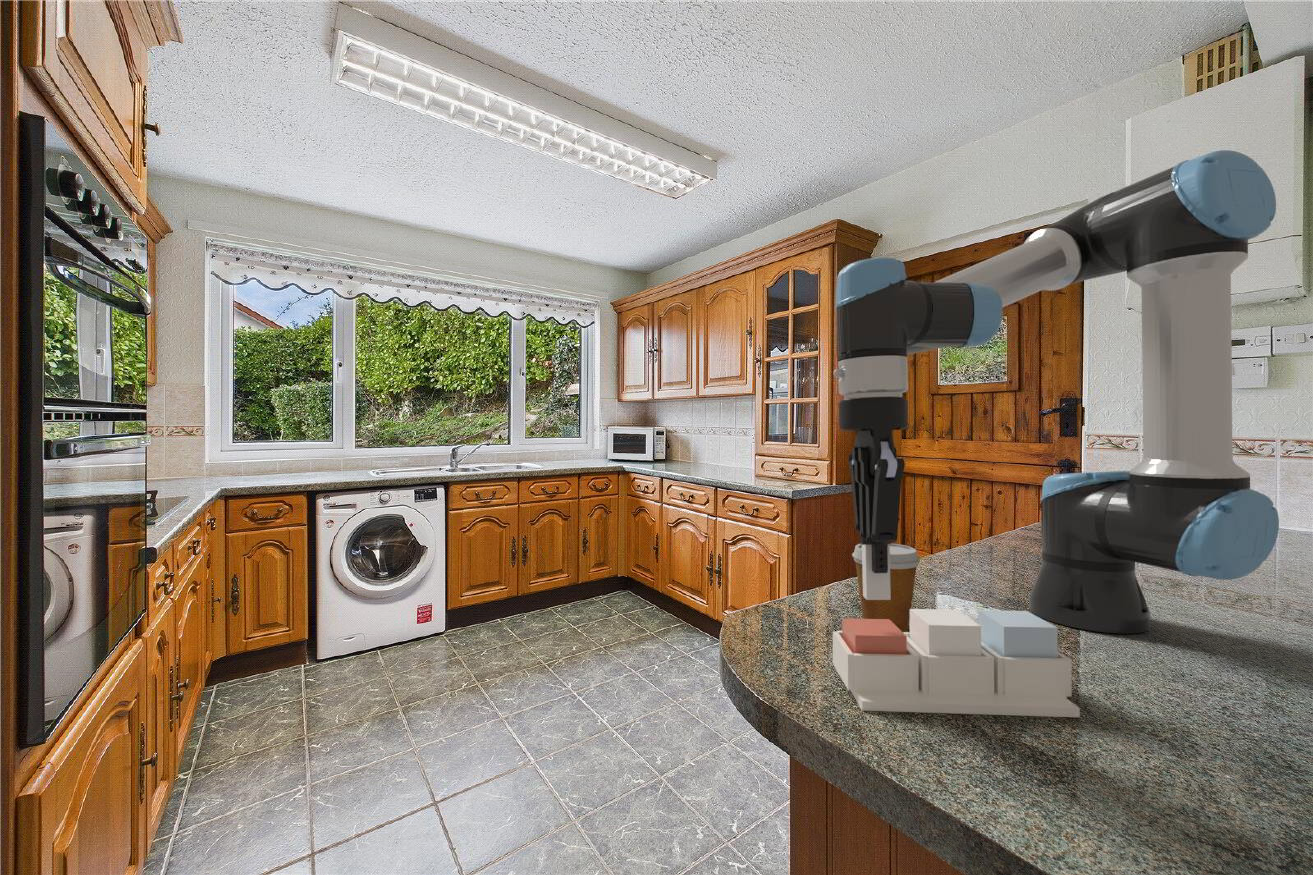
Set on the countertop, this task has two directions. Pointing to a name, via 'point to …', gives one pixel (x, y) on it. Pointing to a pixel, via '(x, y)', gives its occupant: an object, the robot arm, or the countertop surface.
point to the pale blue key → (1018, 634)
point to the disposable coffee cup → (892, 586)
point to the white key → (945, 632)
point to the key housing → (956, 682)
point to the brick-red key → (873, 636)
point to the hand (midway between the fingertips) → (876, 597)
